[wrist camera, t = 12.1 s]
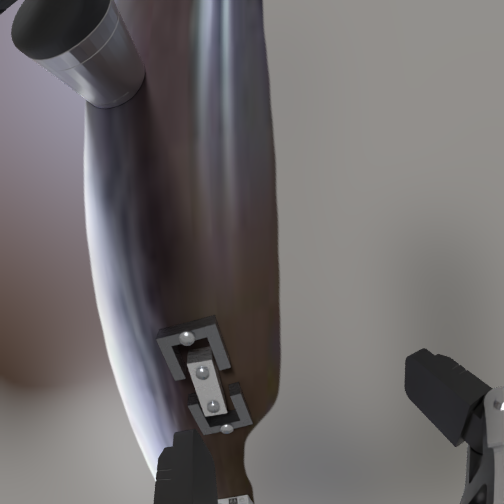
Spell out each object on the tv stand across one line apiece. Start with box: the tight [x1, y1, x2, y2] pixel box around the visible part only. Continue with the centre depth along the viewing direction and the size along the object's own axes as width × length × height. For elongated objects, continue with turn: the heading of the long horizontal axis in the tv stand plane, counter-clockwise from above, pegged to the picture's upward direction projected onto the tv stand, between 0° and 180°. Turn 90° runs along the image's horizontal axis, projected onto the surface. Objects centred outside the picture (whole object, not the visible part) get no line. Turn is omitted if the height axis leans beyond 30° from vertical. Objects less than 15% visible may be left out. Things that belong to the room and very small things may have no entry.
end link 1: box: [156, 315, 231, 381], centre depth 38 cm, size 7×8×4 cm
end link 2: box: [188, 382, 253, 435], centre depth 41 cm, size 7×8×4 cm
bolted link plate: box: [187, 346, 227, 417], centre depth 39 cm, size 10×3×4 cm, turn 10°
